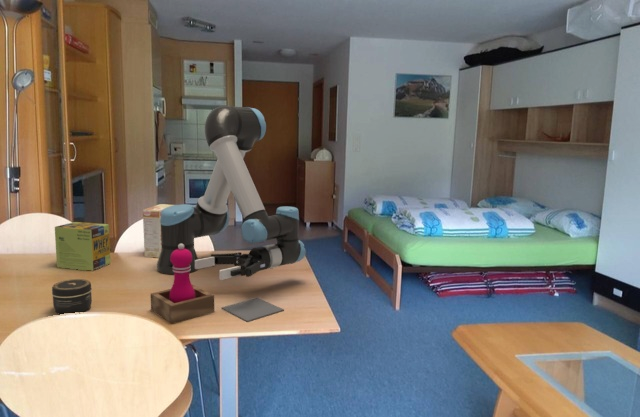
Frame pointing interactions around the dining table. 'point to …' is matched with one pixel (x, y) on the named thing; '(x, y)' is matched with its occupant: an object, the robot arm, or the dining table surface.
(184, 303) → the walnut box
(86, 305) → the jar
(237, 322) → the dining table surface
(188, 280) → the pepper mill
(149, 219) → the coffeecake box
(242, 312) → the mat
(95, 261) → the protein box
